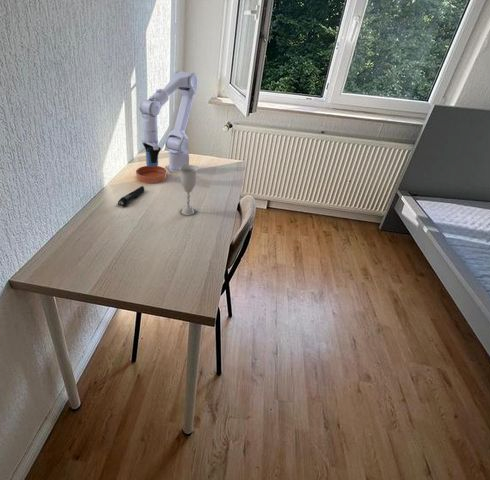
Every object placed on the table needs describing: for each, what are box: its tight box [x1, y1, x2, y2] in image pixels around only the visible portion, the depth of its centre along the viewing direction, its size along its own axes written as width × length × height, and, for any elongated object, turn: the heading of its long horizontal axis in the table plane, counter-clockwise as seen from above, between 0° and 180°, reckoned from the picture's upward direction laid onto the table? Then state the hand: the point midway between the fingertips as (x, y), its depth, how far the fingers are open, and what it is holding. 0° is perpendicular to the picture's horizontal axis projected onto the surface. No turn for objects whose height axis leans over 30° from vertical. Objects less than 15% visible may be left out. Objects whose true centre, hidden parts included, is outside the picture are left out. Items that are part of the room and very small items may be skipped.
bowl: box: [135, 165, 168, 184], centre depth 162 cm, size 14×14×4 cm
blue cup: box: [145, 149, 159, 167], centre depth 155 cm, size 5×5×6 cm
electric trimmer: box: [117, 185, 145, 208], centre depth 143 cm, size 4×16×3 cm, turn 153°
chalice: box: [179, 164, 199, 216], centre depth 132 cm, size 7×7×18 cm
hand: (152, 160), depth 156 cm, fingers closed on blue cup, 5 cm apart
